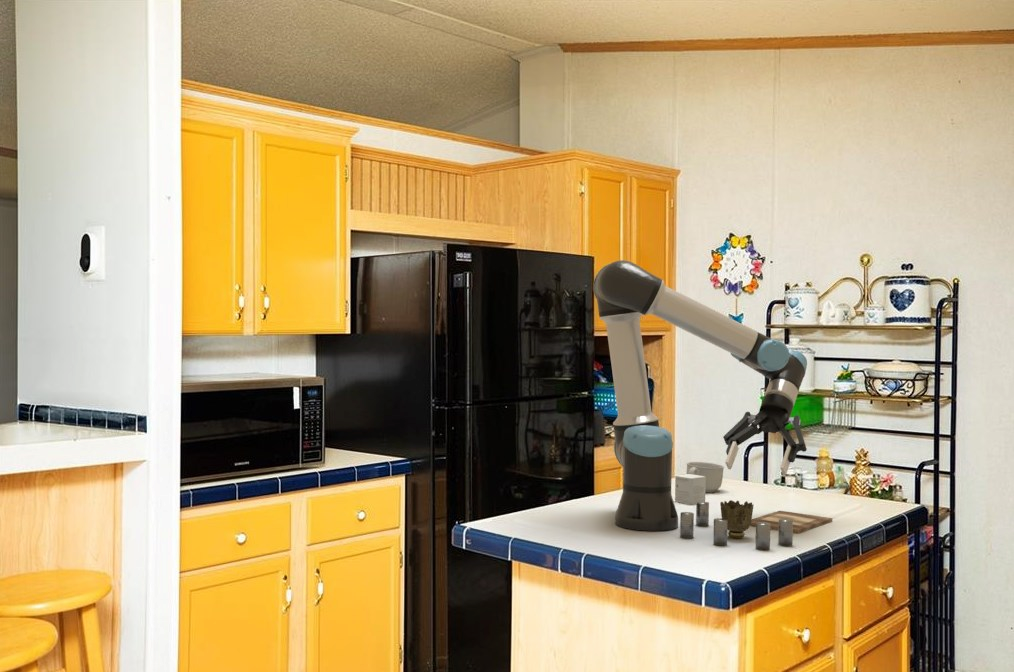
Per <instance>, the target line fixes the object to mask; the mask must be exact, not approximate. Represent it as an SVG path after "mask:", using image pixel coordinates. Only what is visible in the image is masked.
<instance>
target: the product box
mask: <svg viewBox="0 0 1014 672" xmlns="http://www.w3.org/2000/svg"><path fill="white" fill-rule="evenodd" d="M705 491H706V477H704V476H699V475H693V474H686V473H685V474H680V475H679V474H678V475H675V484H674V501H675V502H674V503H680V504H686V505H691V506H693V505H694V506H695V505H696V502H706V492H705Z"/></svg>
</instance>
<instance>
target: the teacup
mask: <svg viewBox="0 0 1014 672" xmlns="http://www.w3.org/2000/svg"><path fill="white" fill-rule="evenodd" d="M724 468H725V466H724V465H722V464H718V463H715V462H714V463H713V462H707V461H706V462H705V461H688V462H686V473H685V474H693V475H699V476H704V477H706V491H705V493H715V492H716V491H717V490H719V489H720V488H721V486H722V484H723V478H724V476H723V475H724Z"/></svg>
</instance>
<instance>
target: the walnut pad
mask: <svg viewBox="0 0 1014 672" xmlns="http://www.w3.org/2000/svg"><path fill="white" fill-rule="evenodd" d="M779 519H791V520H793V534H800V533H805V532H806V531H809V530H813V529H814V528H818V527H820V526H823V525H827V524H828V523H832V522H833V517H827V516H821V515H813V514H804V513H799V512H793V511H787V510H777V511H773V512H771V513H768V514H764V515H761V516H757V517H754V518H752V520H751V524H750V527H755V528H756V523H757V522H766V523H770V530H774V531H779Z"/></svg>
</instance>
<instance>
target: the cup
mask: <svg viewBox="0 0 1014 672" xmlns="http://www.w3.org/2000/svg"><path fill="white" fill-rule="evenodd" d="M719 506H720V513H721V514H720V515H721V518H722V519H727V520H728V528H727V536H728V537H729V538H731V539H735V540H739V539H740V540H741V539H743V538H744V537H745V535H746V534H745V532H746V531H747V530H748V529H749V528H750V527H751V526H750V524H751V520H752V519H753V511H754V503H753V502H748V501H747V500H746V501H745V502H744V503H742V504H741V503H740V501H739V500H736V501H734V500H732V499H730V500H729V501H728V502H727V501H726V500H724V501H720V505H719Z"/></svg>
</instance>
